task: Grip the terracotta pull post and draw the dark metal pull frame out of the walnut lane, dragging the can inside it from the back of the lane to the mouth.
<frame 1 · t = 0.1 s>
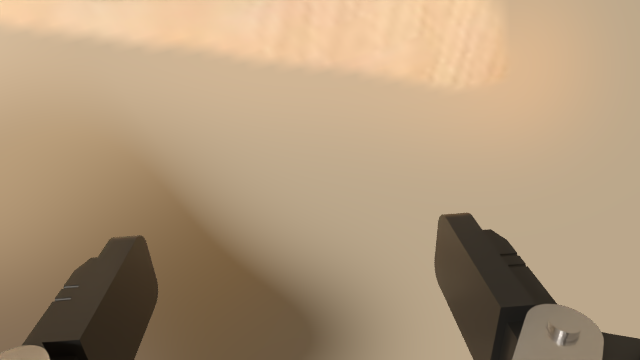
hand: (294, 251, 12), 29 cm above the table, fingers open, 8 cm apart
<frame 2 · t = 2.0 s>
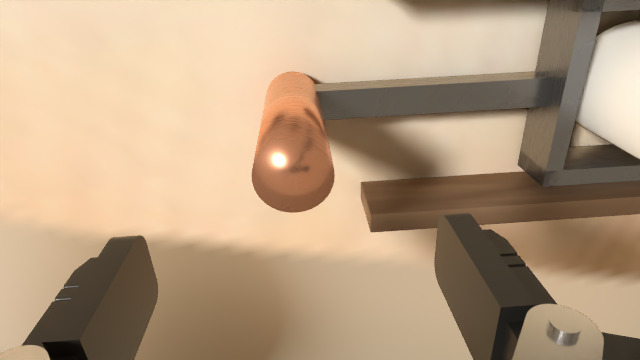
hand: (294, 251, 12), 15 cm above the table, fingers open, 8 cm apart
can: (611, 76, 26), resting in pull frame
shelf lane: (545, 80, 25), on the table
pull frame: (533, 114, 20), point 6 cm above the table, slide at 0.0 cm
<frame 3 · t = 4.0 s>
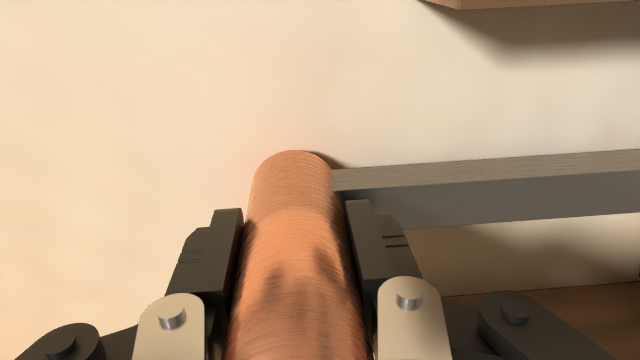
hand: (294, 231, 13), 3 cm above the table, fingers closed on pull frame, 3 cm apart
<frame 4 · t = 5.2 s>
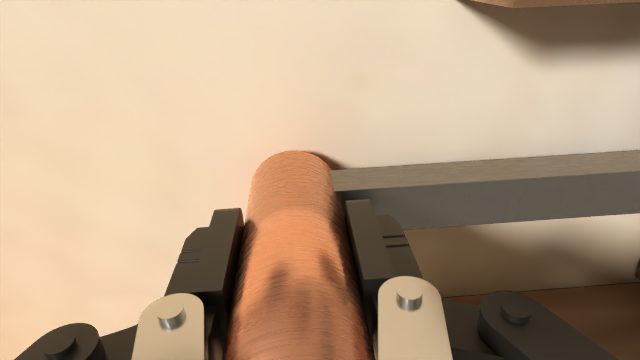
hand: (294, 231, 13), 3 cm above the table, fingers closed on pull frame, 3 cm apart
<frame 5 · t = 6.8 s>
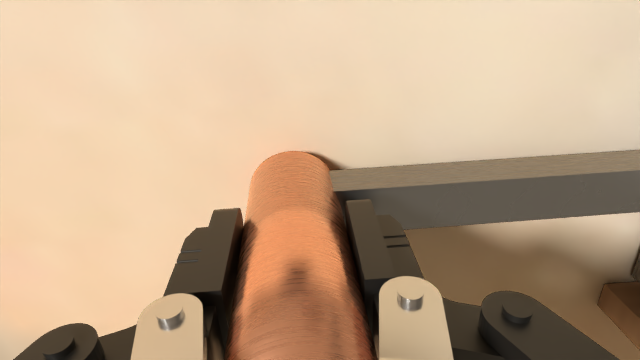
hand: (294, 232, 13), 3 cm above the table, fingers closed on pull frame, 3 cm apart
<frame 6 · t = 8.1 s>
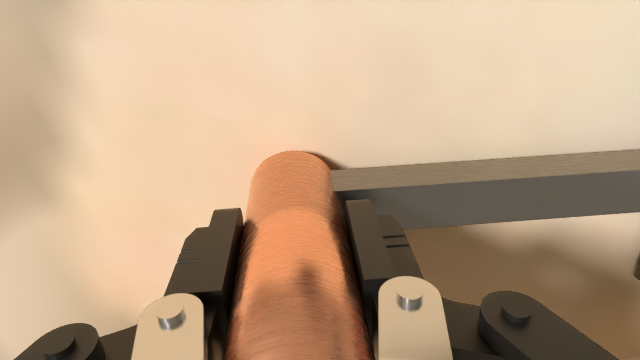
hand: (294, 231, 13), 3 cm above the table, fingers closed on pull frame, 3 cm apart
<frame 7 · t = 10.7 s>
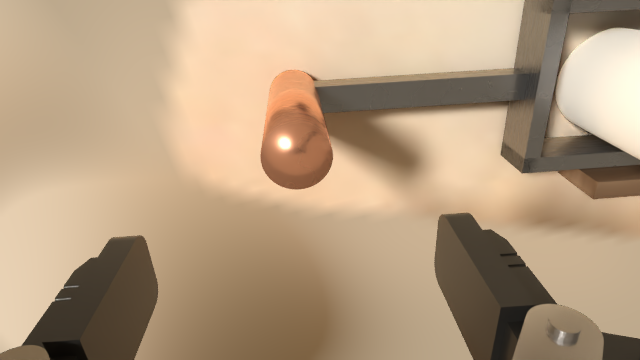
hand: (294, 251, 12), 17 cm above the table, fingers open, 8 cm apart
can: (598, 77, 28), resting in pull frame
pull frame: (509, 104, 23), point 5 cm above the table, slide at 14.8 cm
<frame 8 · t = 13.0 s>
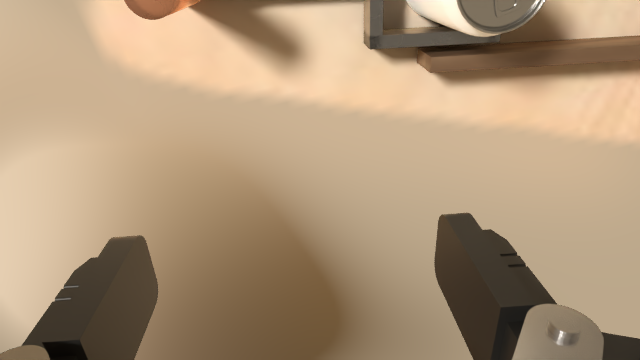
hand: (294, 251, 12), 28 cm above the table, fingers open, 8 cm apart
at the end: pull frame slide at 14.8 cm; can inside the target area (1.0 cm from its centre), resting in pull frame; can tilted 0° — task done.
